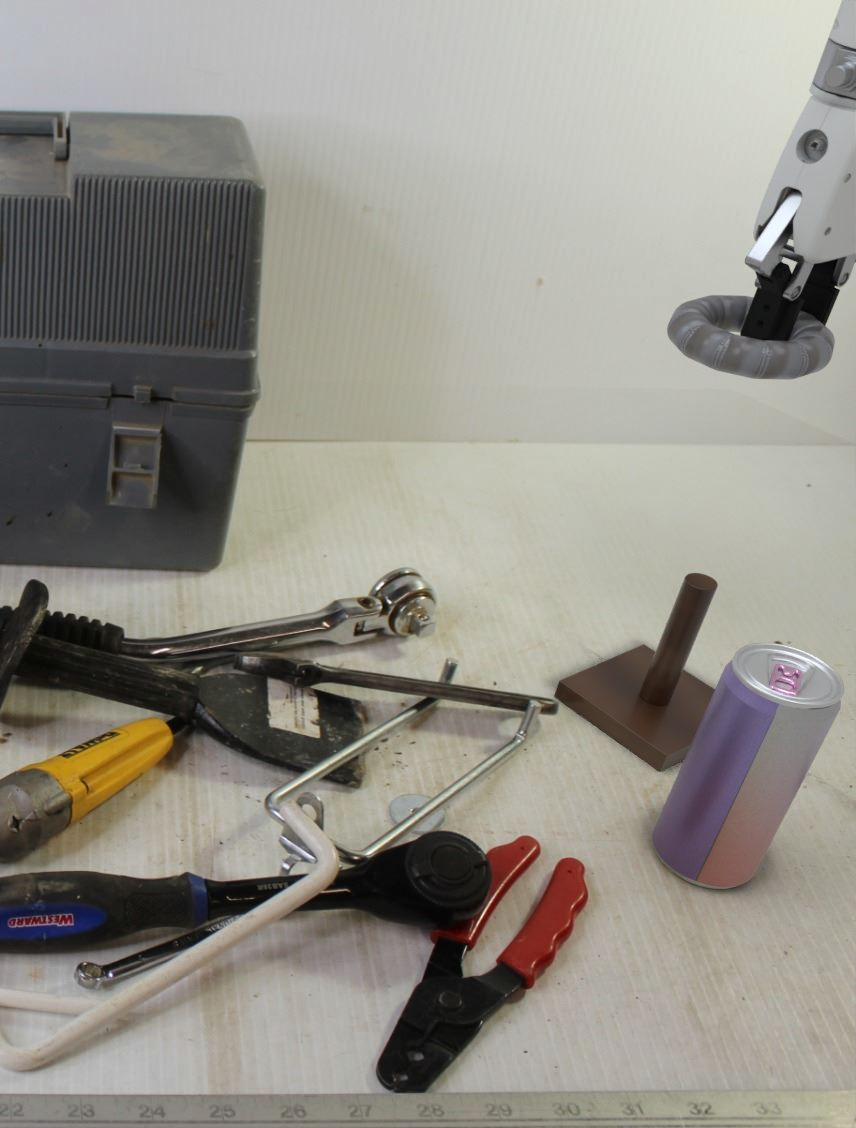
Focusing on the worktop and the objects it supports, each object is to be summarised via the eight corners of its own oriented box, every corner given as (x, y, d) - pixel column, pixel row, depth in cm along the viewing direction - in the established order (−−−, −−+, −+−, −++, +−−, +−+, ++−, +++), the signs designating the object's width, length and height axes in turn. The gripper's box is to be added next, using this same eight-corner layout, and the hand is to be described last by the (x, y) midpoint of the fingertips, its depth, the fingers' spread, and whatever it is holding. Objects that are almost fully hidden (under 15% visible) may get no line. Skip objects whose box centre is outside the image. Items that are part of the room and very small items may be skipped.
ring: (727, 312, 101) (739, 280, 99) (858, 366, 93) (873, 332, 92) (632, 339, 97) (643, 306, 95) (760, 398, 89) (774, 362, 88)
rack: (637, 659, 100) (687, 531, 93) (745, 729, 93) (807, 597, 87) (553, 696, 96) (598, 565, 90) (659, 771, 90) (717, 636, 83)
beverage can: (639, 867, 83) (722, 681, 74) (658, 811, 87) (738, 628, 78) (744, 909, 80) (843, 721, 71) (759, 848, 84) (854, 663, 75)
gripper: (857, 106, 80) (749, 384, 90) (1018, 73, 86) (899, 337, 97) (746, 76, 85) (656, 341, 96) (905, 47, 91) (804, 300, 102)
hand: (779, 337), depth 96 cm, fingers closed on ring, 3 cm apart
